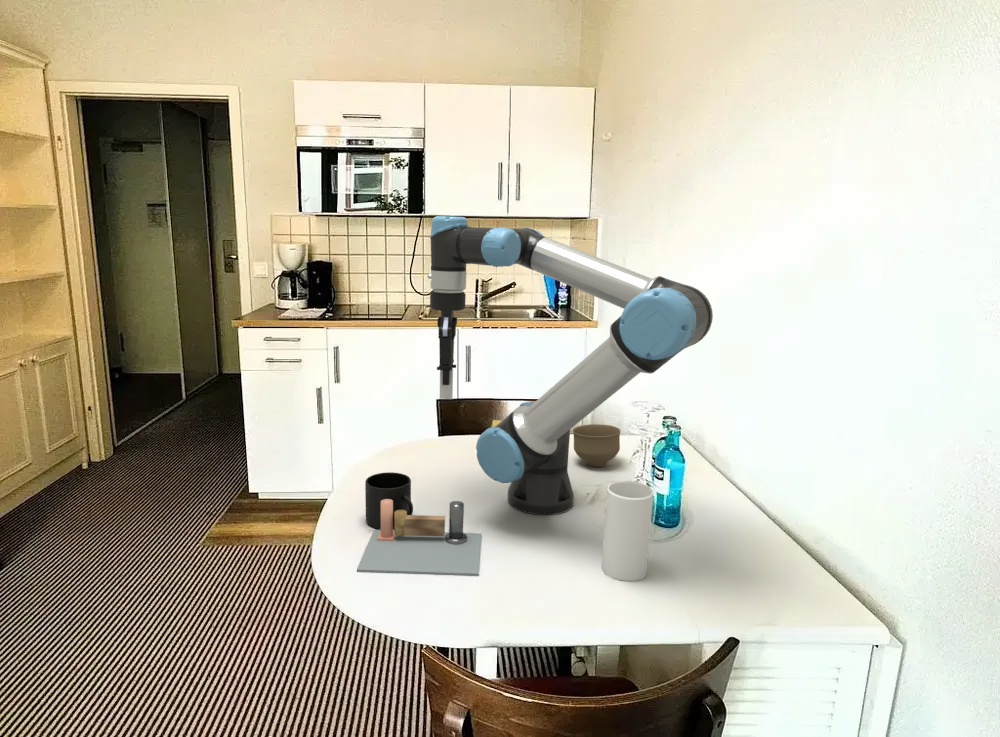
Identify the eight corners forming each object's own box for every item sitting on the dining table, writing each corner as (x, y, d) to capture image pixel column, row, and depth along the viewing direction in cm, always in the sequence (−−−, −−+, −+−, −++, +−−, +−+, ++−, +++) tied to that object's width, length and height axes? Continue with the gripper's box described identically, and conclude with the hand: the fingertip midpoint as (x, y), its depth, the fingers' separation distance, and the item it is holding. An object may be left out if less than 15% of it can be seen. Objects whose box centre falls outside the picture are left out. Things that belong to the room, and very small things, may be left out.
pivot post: (467, 536, 135) (468, 499, 133) (466, 546, 131) (467, 508, 129) (445, 535, 135) (446, 498, 133) (443, 546, 131) (444, 508, 129)
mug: (395, 538, 133) (395, 496, 131) (356, 520, 140) (355, 480, 138) (428, 523, 140) (429, 483, 138) (389, 507, 148) (389, 468, 146)
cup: (636, 586, 119) (644, 502, 115) (594, 572, 123) (600, 491, 119) (652, 567, 125) (659, 487, 122) (611, 554, 130) (617, 477, 126)
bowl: (584, 452, 187) (587, 418, 185) (626, 463, 180) (629, 428, 178) (562, 464, 177) (564, 428, 175) (605, 476, 170) (607, 439, 168)
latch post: (396, 535, 134) (396, 498, 133) (393, 542, 131) (393, 505, 130) (380, 534, 134) (380, 497, 133) (377, 542, 131) (377, 504, 130)
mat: (481, 535, 136) (481, 533, 136) (478, 575, 120) (478, 573, 120) (373, 531, 136) (373, 529, 136) (356, 571, 120) (356, 569, 120)
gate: (444, 531, 134) (445, 510, 133) (444, 536, 131) (444, 515, 130) (395, 530, 133) (395, 509, 132) (393, 536, 131) (393, 514, 130)
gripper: (433, 287, 148) (432, 390, 153) (426, 293, 135) (425, 405, 140) (467, 288, 148) (464, 391, 153) (463, 294, 135) (461, 406, 140)
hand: (446, 398), depth 146 cm, fingers closed
